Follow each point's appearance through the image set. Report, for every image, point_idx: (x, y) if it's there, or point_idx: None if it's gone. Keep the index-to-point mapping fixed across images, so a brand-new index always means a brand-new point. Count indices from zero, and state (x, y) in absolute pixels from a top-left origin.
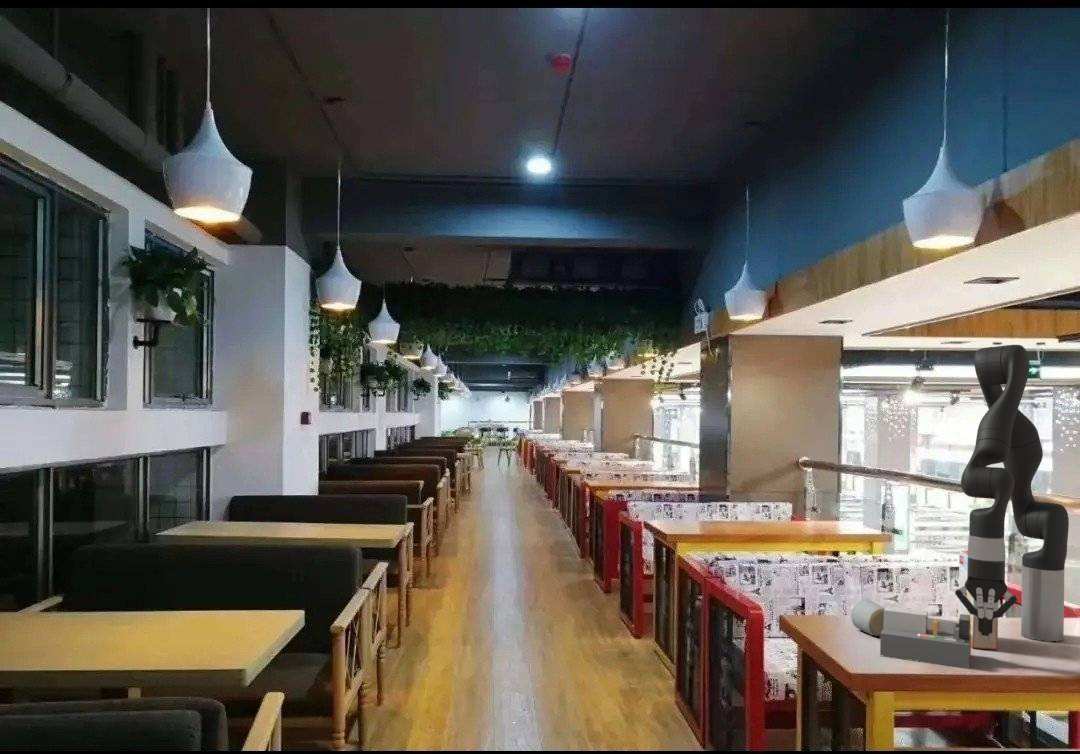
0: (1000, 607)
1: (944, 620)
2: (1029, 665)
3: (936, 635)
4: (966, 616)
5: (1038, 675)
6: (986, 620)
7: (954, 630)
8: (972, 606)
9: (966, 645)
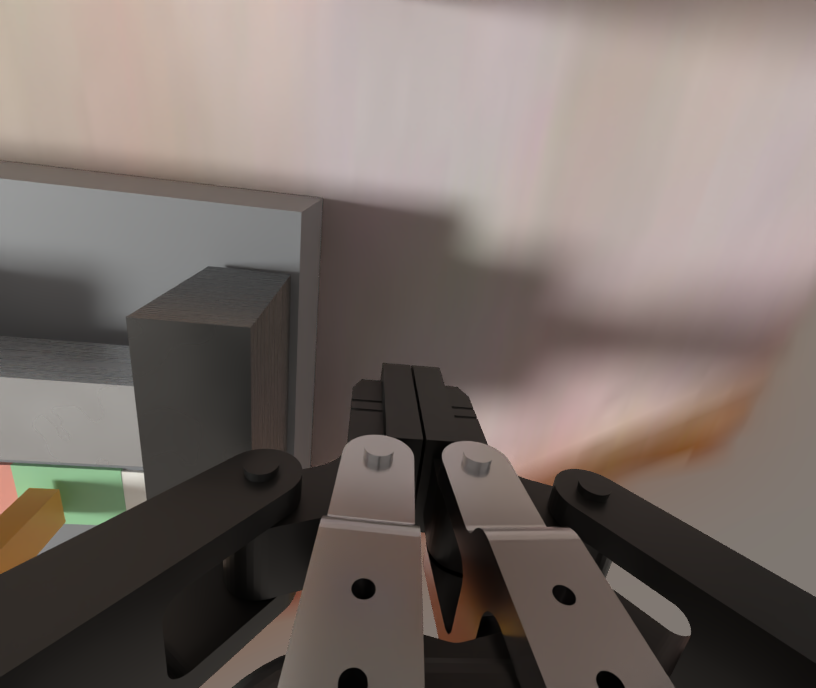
0: (645, 576)
1: (11, 415)
2: (624, 284)
3: (60, 523)
4: (212, 418)
5: (609, 446)
6: (419, 524)
7: None
8: (244, 538)
9: None
